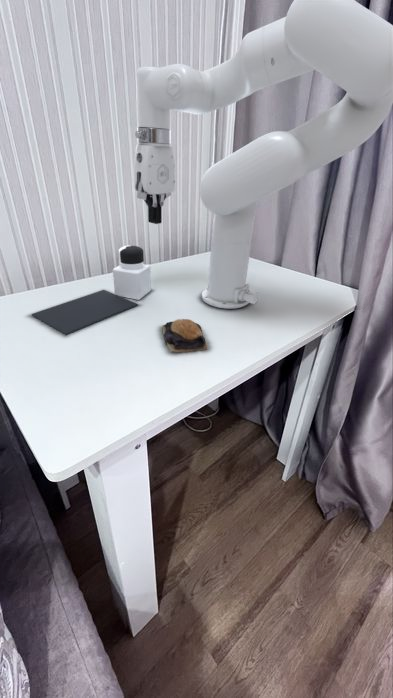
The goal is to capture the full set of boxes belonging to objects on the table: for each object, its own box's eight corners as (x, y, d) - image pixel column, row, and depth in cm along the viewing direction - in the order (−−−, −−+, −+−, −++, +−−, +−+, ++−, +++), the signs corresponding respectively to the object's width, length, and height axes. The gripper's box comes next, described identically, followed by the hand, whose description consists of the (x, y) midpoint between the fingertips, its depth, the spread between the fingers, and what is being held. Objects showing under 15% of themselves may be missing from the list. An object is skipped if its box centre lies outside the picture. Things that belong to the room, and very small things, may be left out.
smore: (159, 328, 72) (159, 312, 70) (197, 325, 74) (197, 310, 72) (168, 354, 64) (168, 337, 62) (210, 349, 65) (211, 333, 64)
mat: (137, 305, 81) (137, 304, 81) (65, 335, 68) (65, 333, 67) (103, 291, 88) (103, 289, 88) (31, 315, 74) (31, 313, 74)
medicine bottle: (151, 290, 90) (150, 245, 83) (139, 300, 84) (137, 253, 77) (128, 286, 91) (125, 242, 85) (114, 295, 86) (110, 249, 79)
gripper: (141, 137, 68) (144, 229, 78) (187, 140, 78) (184, 221, 88) (117, 135, 72) (122, 224, 82) (164, 138, 82) (164, 216, 92)
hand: (154, 222), depth 85 cm, fingers closed
